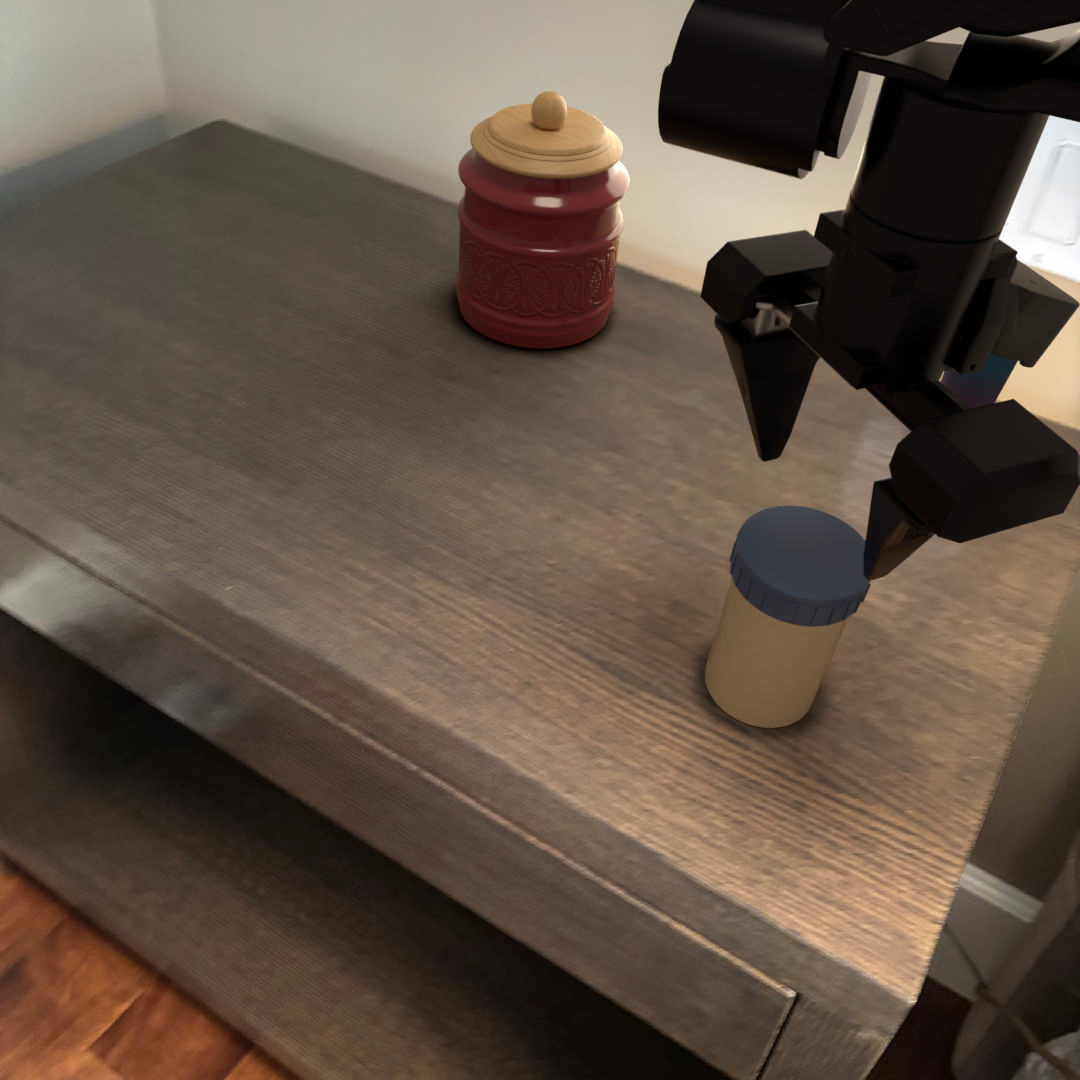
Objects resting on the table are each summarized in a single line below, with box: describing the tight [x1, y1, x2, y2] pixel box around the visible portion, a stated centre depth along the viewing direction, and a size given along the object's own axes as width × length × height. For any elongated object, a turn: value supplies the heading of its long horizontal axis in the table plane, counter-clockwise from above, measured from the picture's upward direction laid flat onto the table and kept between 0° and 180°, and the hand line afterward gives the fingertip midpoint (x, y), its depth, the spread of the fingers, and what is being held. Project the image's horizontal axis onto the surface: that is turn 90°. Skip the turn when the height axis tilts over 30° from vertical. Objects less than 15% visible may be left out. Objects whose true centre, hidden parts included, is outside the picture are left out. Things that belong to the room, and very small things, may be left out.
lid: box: [728, 504, 872, 627], centre depth 51 cm, size 7×7×2 cm
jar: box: [704, 577, 849, 729], centre depth 55 cm, size 6×6×10 cm
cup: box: [939, 355, 1019, 409], centre depth 72 cm, size 4×4×10 cm
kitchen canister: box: [455, 90, 631, 349], centre depth 79 cm, size 13×13×18 cm
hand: (818, 513), depth 49 cm, fingers open, 8 cm apart
